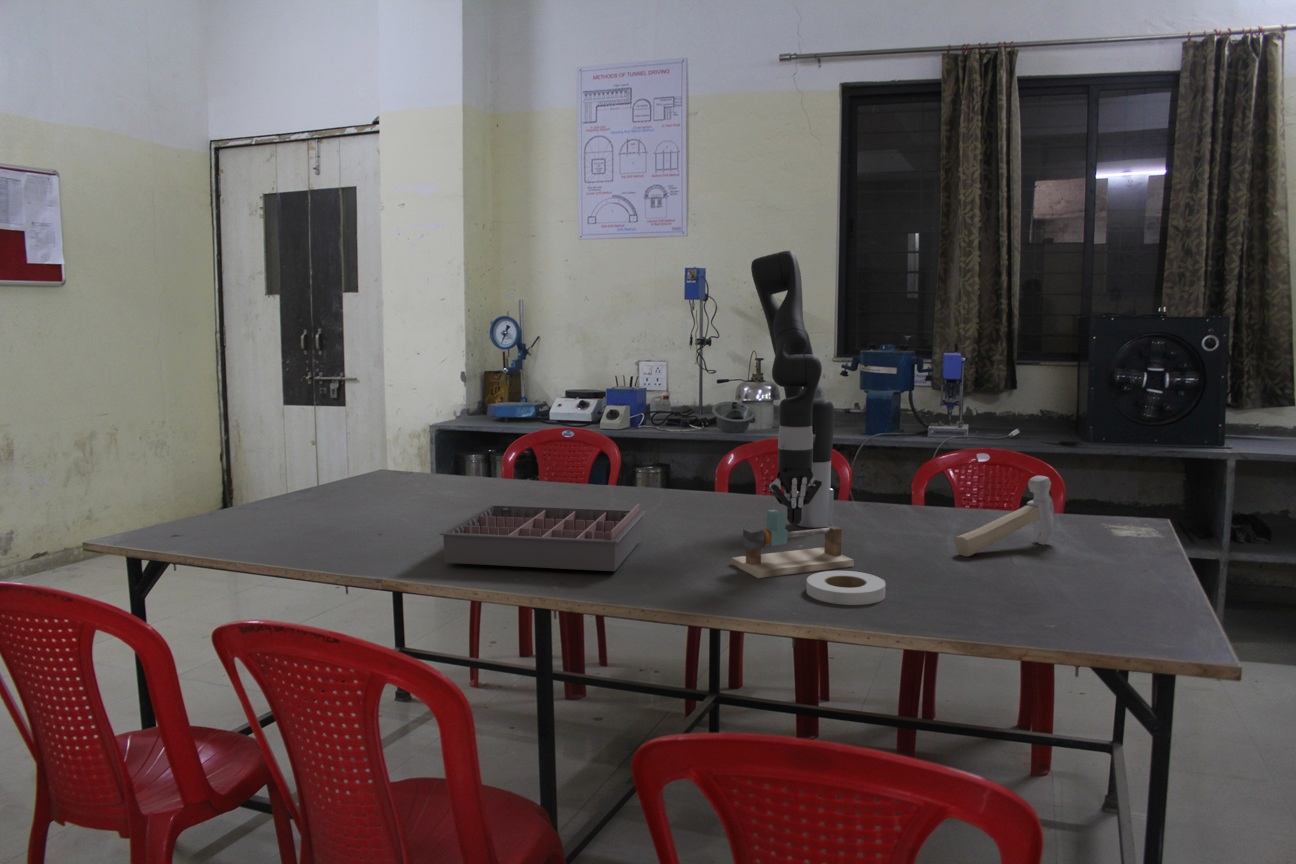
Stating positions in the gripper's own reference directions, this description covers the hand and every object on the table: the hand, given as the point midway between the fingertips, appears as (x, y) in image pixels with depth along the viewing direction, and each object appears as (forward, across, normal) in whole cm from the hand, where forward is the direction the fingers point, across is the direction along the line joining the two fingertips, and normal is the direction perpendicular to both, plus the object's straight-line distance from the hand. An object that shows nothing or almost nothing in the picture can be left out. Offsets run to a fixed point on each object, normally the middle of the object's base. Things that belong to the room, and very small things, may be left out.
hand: (794, 523), depth 206 cm
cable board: (+9, 0, 0) cm, 9 cm away
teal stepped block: (+4, +5, 0) cm, 6 cm away
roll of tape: (+10, +1, +22) cm, 24 cm away
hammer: (+10, -54, +7) cm, 55 cm away
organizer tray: (+10, +48, -29) cm, 57 cm away
